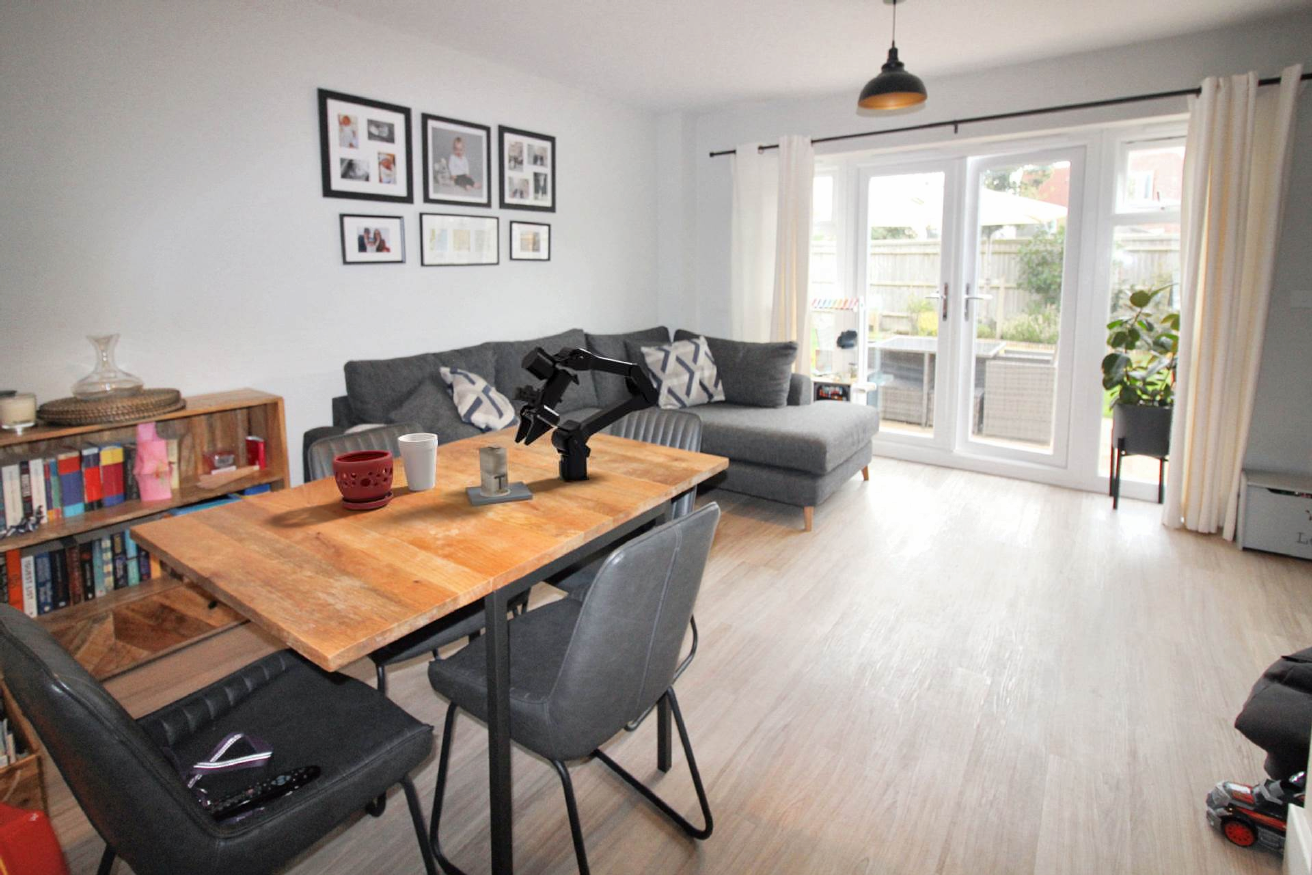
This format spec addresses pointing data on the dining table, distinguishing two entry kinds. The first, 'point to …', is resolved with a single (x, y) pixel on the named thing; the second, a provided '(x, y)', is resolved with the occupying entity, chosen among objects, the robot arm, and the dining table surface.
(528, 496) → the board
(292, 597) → the dining table surface
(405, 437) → the foam cup
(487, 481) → the letter block
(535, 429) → the robot arm
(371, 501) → the plant pot
